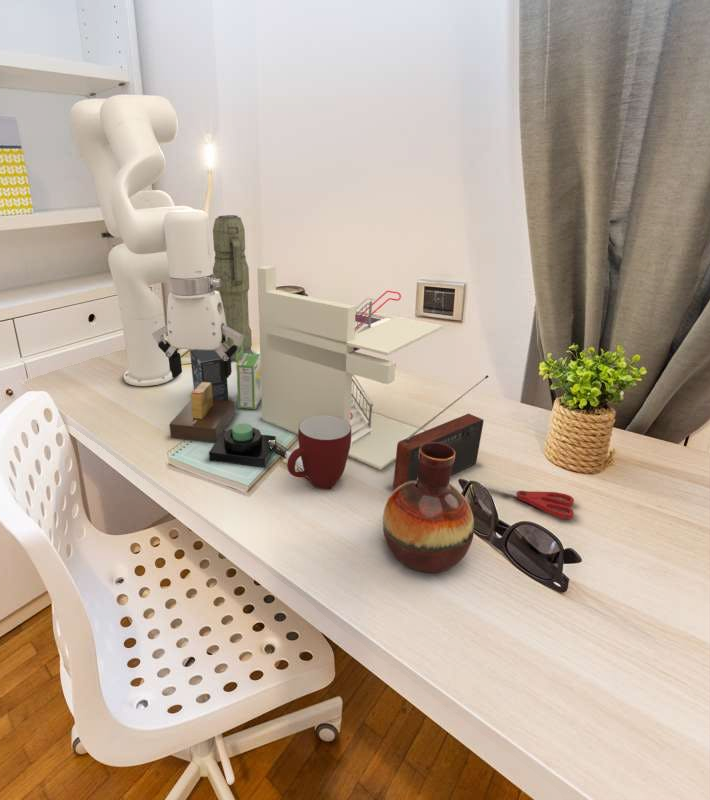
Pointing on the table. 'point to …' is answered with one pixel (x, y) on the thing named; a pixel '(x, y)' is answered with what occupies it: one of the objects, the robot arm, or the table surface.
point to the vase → (429, 515)
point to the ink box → (248, 379)
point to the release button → (242, 432)
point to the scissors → (544, 501)
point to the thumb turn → (201, 400)
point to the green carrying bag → (232, 276)
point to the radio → (454, 433)
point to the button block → (242, 449)
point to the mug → (322, 450)
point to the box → (208, 372)
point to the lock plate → (203, 422)
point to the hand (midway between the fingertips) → (201, 376)
